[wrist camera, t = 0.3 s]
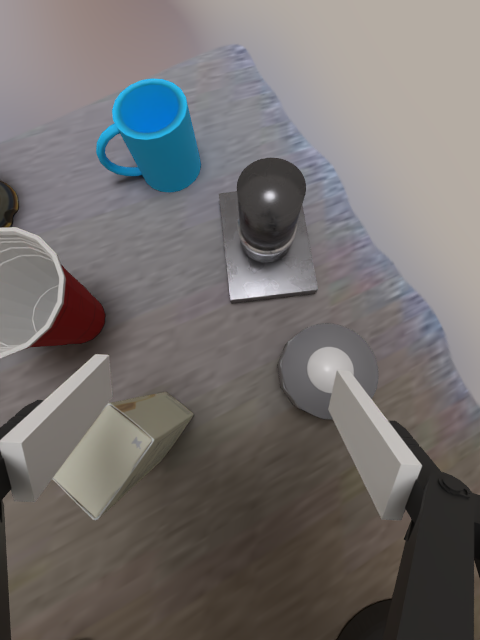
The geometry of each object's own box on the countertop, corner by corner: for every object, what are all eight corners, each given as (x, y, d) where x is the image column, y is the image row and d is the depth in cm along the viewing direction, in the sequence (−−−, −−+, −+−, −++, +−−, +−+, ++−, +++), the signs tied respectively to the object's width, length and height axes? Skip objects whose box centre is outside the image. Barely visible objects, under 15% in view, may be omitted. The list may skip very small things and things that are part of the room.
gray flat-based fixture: (314, 293, 32) (344, 253, 22) (231, 303, 33) (222, 268, 22) (296, 191, 35) (314, 115, 25) (220, 201, 36) (207, 129, 25)
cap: (370, 409, 29) (389, 414, 25) (284, 419, 29) (290, 425, 25) (352, 325, 31) (367, 317, 27) (273, 335, 31) (276, 328, 27)
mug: (191, 134, 38) (175, 69, 30) (208, 181, 36) (196, 126, 28) (109, 160, 38) (71, 101, 30) (122, 209, 36) (85, 160, 28)
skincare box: (165, 390, 31) (110, 396, 19) (195, 414, 30) (158, 436, 18) (128, 439, 30) (45, 479, 18) (159, 465, 29) (94, 524, 17)
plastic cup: (63, 385, 31) (-50, 388, 20) (24, 310, 33) (-98, 273, 22) (144, 332, 32) (82, 305, 21) (101, 263, 34) (24, 202, 23)
